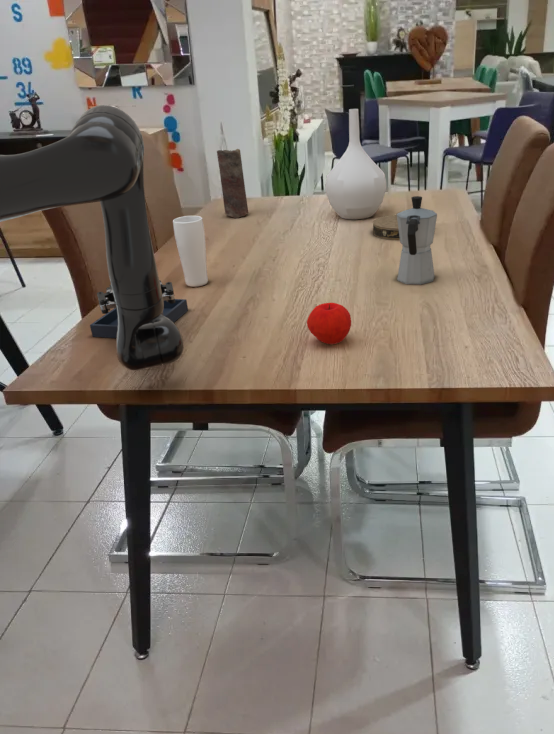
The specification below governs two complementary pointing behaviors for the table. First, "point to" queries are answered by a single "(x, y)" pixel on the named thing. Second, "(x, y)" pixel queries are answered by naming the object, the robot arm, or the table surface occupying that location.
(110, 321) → the tray
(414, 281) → the coffee maker
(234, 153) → the candle
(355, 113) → the vase
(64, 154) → the robot arm
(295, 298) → the table surface
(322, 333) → the apple
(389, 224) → the tambourine
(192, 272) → the drinking glass
